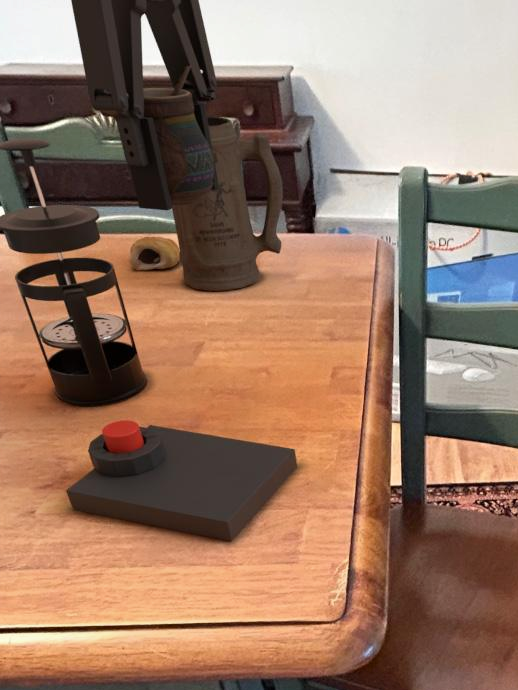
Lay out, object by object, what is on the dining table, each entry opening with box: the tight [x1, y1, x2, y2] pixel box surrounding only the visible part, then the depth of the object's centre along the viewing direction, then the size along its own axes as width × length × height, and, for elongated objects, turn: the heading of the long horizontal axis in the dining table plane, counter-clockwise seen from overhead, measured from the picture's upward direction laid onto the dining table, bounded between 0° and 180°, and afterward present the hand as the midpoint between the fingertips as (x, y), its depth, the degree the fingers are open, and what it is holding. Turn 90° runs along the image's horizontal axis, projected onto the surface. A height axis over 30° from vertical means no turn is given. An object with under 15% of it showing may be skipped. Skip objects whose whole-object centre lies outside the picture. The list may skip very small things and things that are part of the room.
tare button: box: [101, 419, 144, 454], centre depth 63 cm, size 3×3×2 cm
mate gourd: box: [126, 64, 214, 205], centre depth 62 cm, size 7×8×10 cm
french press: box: [0, 137, 148, 407], centre depth 72 cm, size 12×9×23 cm
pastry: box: [128, 236, 180, 271], centre depth 111 cm, size 9×7×4 cm
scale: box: [65, 424, 298, 542], centre depth 64 cm, size 16×12×4 cm
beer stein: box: [171, 115, 284, 292], centre depth 101 cm, size 15×11×20 cm
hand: (180, 196), depth 65 cm, fingers closed on mate gourd, 7 cm apart
